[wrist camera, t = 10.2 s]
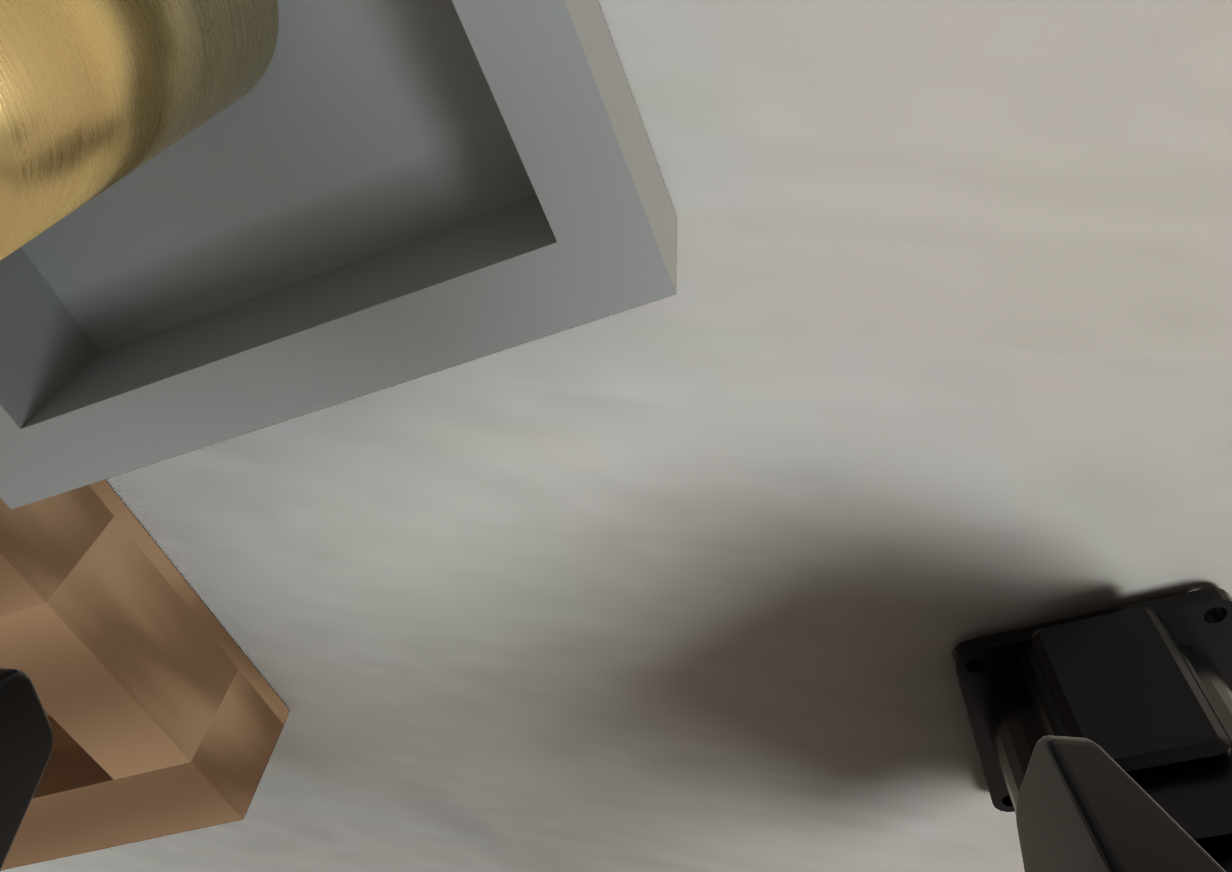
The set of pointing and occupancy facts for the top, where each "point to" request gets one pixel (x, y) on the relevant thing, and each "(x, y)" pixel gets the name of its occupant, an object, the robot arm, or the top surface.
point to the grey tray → (335, 236)
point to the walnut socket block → (124, 682)
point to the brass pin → (111, 92)
